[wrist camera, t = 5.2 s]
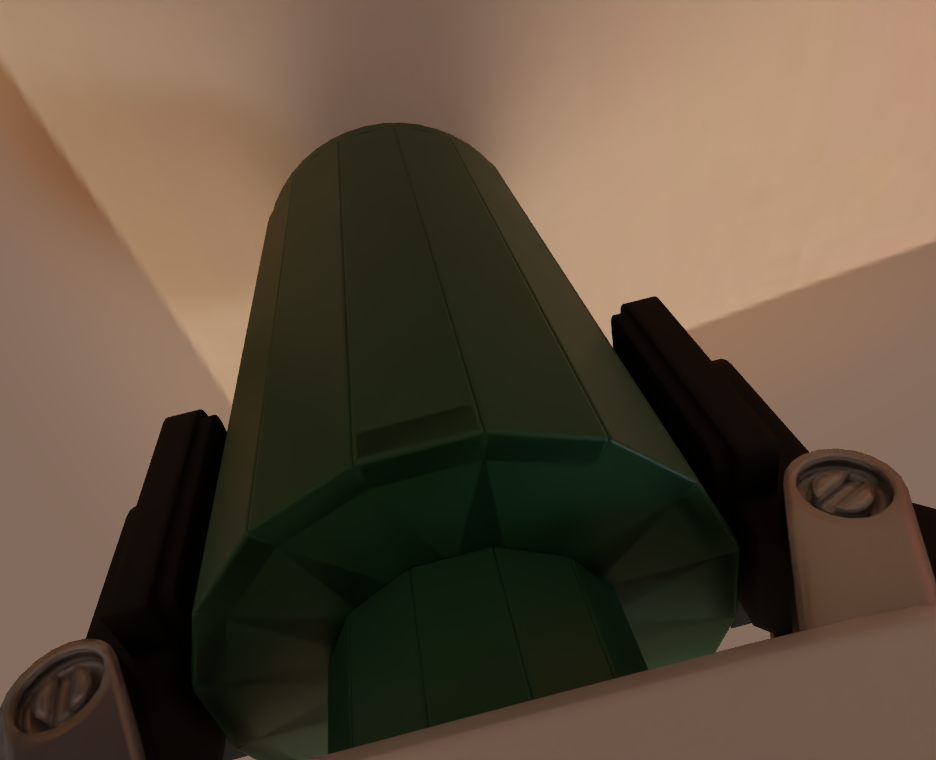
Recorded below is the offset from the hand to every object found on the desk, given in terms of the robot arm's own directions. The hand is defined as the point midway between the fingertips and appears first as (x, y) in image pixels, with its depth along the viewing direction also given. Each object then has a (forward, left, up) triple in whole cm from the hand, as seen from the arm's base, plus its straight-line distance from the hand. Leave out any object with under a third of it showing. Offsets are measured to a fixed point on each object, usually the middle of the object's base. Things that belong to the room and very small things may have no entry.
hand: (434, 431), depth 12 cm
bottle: (0, 0, -8) cm, 8 cm away
